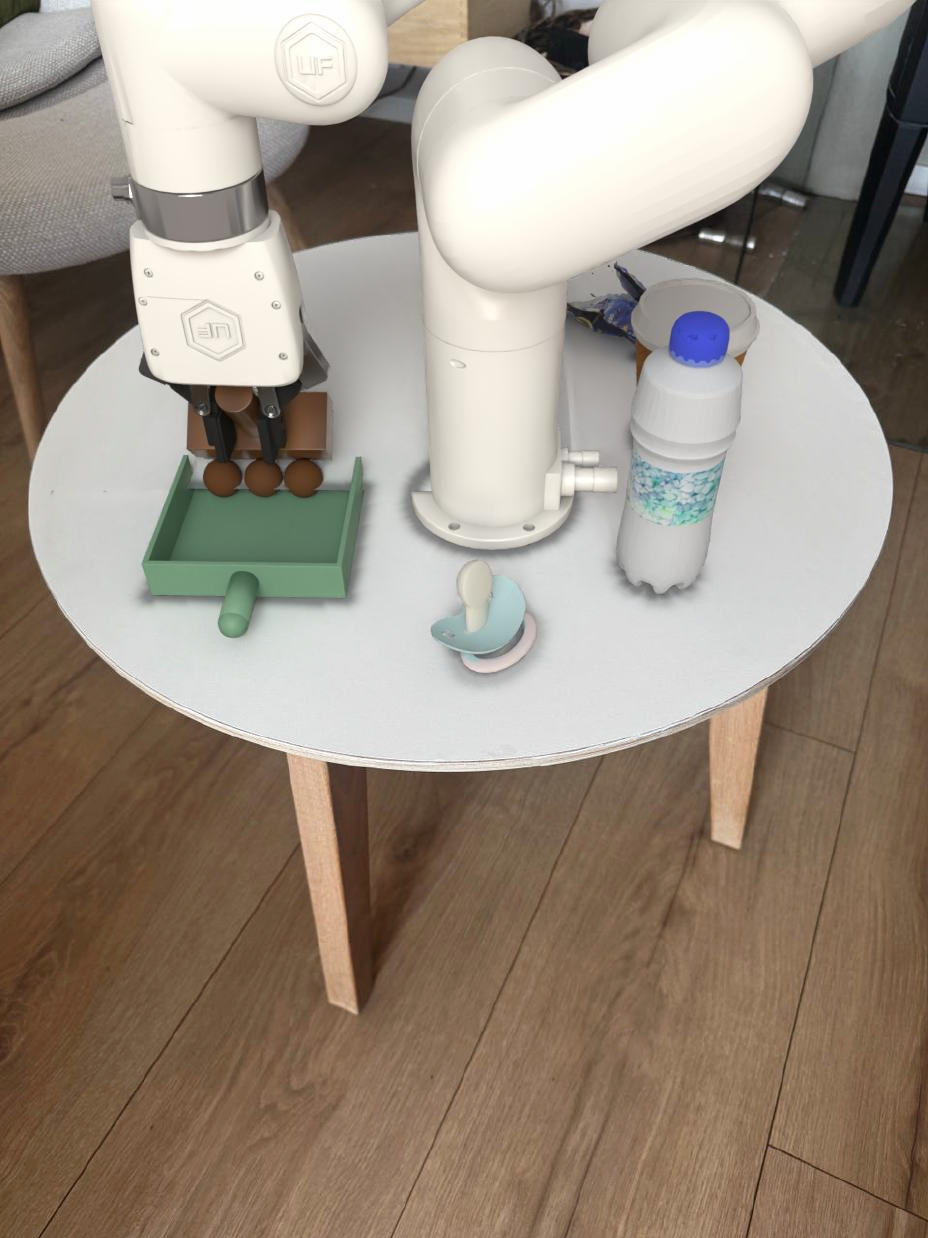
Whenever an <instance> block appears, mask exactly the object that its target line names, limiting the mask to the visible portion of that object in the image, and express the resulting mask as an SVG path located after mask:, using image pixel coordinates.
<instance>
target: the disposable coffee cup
mask: <svg viewBox="0 0 928 1238" xmlns="http://www.w3.org/2000/svg"><path fill="white" fill-rule="evenodd" d="M646 289H647V290H646V291H645V292H644V293H643V294H642V296H641V298H640V300H639V303H638V305H636V307H635V308H634V310H633V312H632V315H631V324H632V327H633V330H634V333H635V336H636V344H635V349H636V350H635V370H636V372H635V373H636V374H635V376H636V377H635V378H636V379H635V381H636V382H635V383H636V387H635V388H637V385H638V382H639V378H640V375H641V371H642V368H643V364H644V362H645V360H646V358H647V357H648V356H649V355H650V354H651V353H652V352H653V351H655V350H657V349H659V348H661V347H664V346H666V345H669V342H670V335H671V330H672V327H673V325H674V323H675V321H676V320H677V319H678V318H679V317H680V316H681V315H683V314H685V313H688V312H692V311H707V312H711V313H714V314H717V315H719V316H721V317H722V318H723V319H724V320H725V321H726V323H727V324H728V326H729V330H730V338H729V344H728V349H727V352H726V353H728V354H730V355H731V356H732V357H733V358H734V359H735V360H736V361H737V362H738V363H739V365H740V366H741V368H742V366H743V365H744V364H743V363H744V361H745V358H746V356H747V352H748V350H749V349H750V348H751V346H752V344H753V343H754V342H755V341H756V340H757V337H758V336H759V333H760V329H761V325H760V321H759V318H758V317H757V316H758V315H757V306H756V304H755V302H754V301H753V299H752V297H750V296H749V295H748V294H747V293H746V292H744V291H742V290H741V289H739V288H737V287H735V286H734V285H731V284H728V283H727V282H721V281H718V280H714V279H705V278H701V277H700V278H699V277H682V278H681V277H680V278H674V279H669V280H668V279H667V280H664V281H661V282H657V283H655V284H653V285H651V286H650V287H648V288H646Z"/></svg>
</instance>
